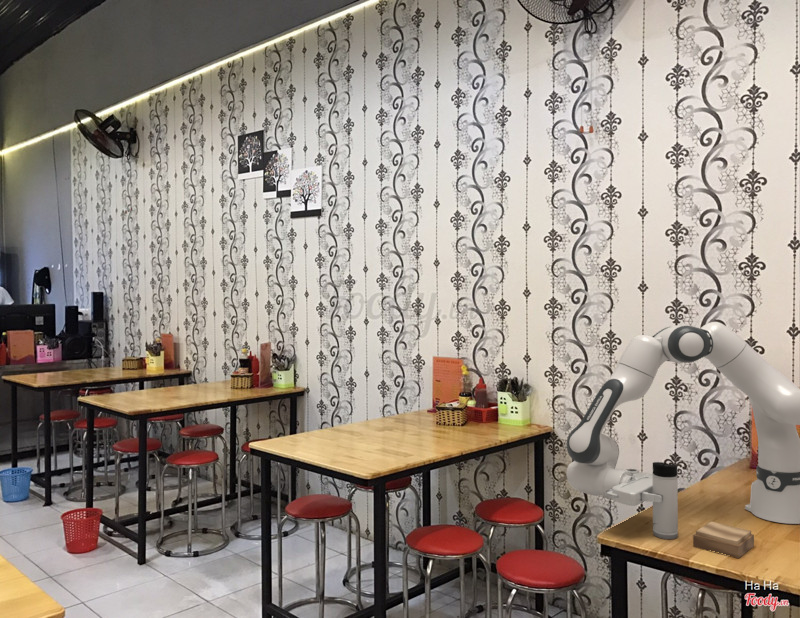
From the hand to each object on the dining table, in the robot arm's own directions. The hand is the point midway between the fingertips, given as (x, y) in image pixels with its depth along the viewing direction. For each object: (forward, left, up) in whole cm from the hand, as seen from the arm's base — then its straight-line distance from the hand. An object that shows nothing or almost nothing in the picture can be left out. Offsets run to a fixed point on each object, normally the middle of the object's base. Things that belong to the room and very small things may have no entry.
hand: (668, 495), depth 175 cm
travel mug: (0, -1, -11) cm, 11 cm away
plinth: (-3, +13, -11) cm, 17 cm away
